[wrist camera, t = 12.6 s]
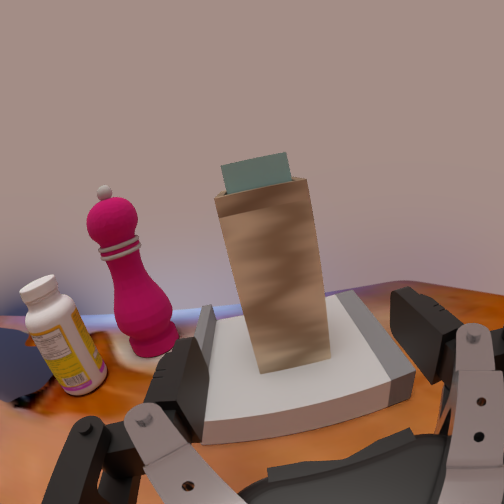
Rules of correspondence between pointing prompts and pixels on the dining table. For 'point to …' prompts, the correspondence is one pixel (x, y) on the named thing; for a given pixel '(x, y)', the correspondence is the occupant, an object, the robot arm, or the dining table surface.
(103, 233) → the pepper mill
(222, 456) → the dining table surface
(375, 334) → the dock
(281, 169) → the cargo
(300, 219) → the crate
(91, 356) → the supplement bottle
